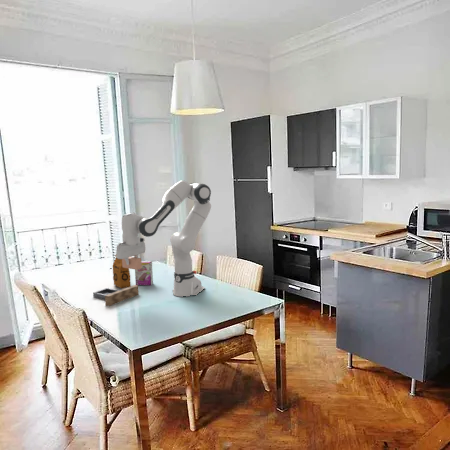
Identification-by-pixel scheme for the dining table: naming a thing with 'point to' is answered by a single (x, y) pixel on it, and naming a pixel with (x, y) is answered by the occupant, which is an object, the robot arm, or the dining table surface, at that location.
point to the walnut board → (121, 295)
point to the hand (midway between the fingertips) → (131, 263)
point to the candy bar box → (144, 274)
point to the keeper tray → (103, 293)
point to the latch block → (132, 263)
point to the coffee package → (120, 274)
